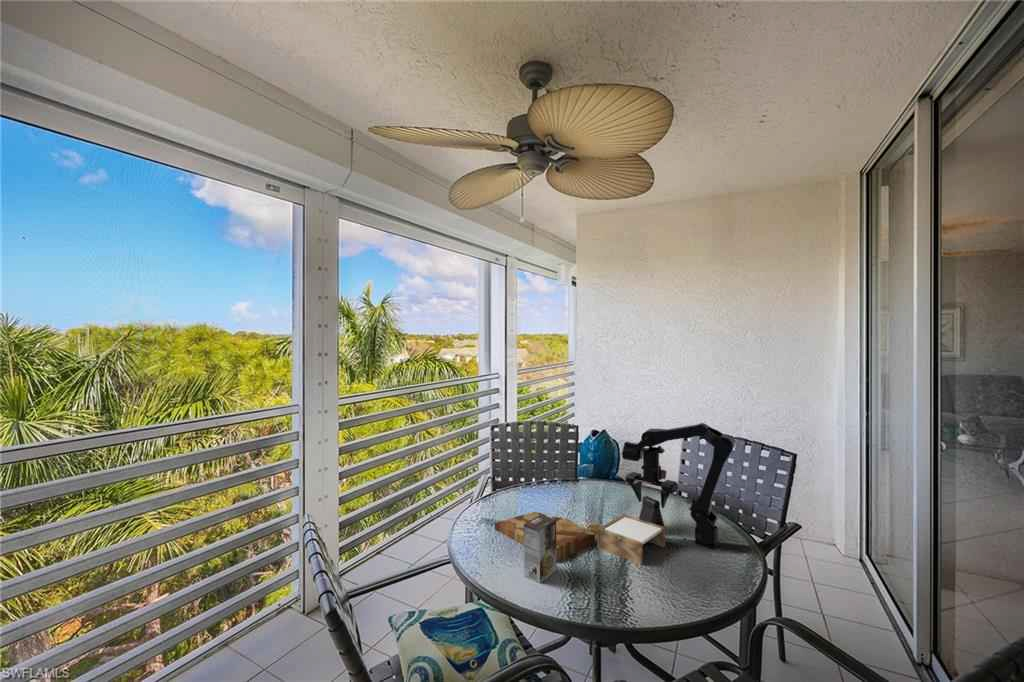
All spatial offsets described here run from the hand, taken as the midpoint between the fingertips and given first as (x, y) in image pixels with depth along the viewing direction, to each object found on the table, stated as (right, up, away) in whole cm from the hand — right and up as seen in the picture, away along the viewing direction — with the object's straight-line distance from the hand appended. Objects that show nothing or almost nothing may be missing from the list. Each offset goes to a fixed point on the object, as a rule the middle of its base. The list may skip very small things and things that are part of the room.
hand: (651, 504), depth 164 cm
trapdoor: (-11, -6, -13) cm, 18 cm away
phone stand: (0, -10, 0) cm, 10 cm away
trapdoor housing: (-11, -10, -13) cm, 20 cm away
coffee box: (-44, -10, -30) cm, 54 cm away
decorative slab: (-41, -11, -5) cm, 43 cm away
